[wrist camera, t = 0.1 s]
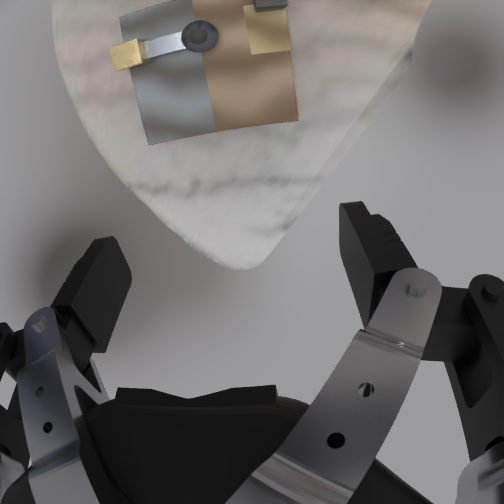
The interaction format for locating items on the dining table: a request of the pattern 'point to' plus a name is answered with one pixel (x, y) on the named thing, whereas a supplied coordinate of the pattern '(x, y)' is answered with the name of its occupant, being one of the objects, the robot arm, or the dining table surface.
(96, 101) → the dining table surface
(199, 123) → the door board
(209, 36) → the latch
